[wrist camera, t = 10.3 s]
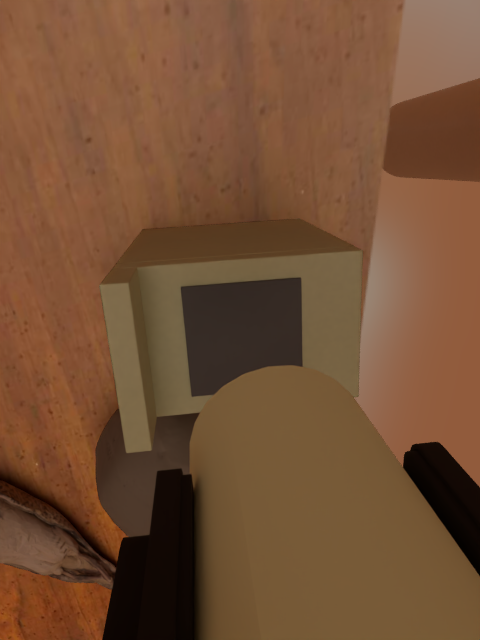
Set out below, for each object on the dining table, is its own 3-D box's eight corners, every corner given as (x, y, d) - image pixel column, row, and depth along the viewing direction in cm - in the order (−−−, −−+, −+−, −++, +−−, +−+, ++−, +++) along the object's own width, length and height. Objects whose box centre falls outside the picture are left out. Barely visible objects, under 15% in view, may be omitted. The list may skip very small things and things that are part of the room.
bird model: (-139, 431, 32) (-106, 405, 37) (-195, 496, 32) (-155, 461, 37) (174, 605, 41) (168, 565, 46) (131, 656, 41) (130, 611, 46)
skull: (252, 527, 45) (278, 643, 34) (79, 459, 40) (44, 568, 29) (317, 435, 43) (368, 528, 32) (142, 350, 38) (130, 425, 27)
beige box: (299, 218, 35) (388, 262, 19) (301, 316, 38) (380, 427, 22) (142, 229, 35) (98, 284, 19) (154, 329, 37) (125, 453, 21)
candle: (345, 517, 14) (533, 941, 6) (182, 513, 14) (172, 982, 6) (379, 368, 13) (679, 690, 5) (197, 356, 12) (212, 706, 4)
